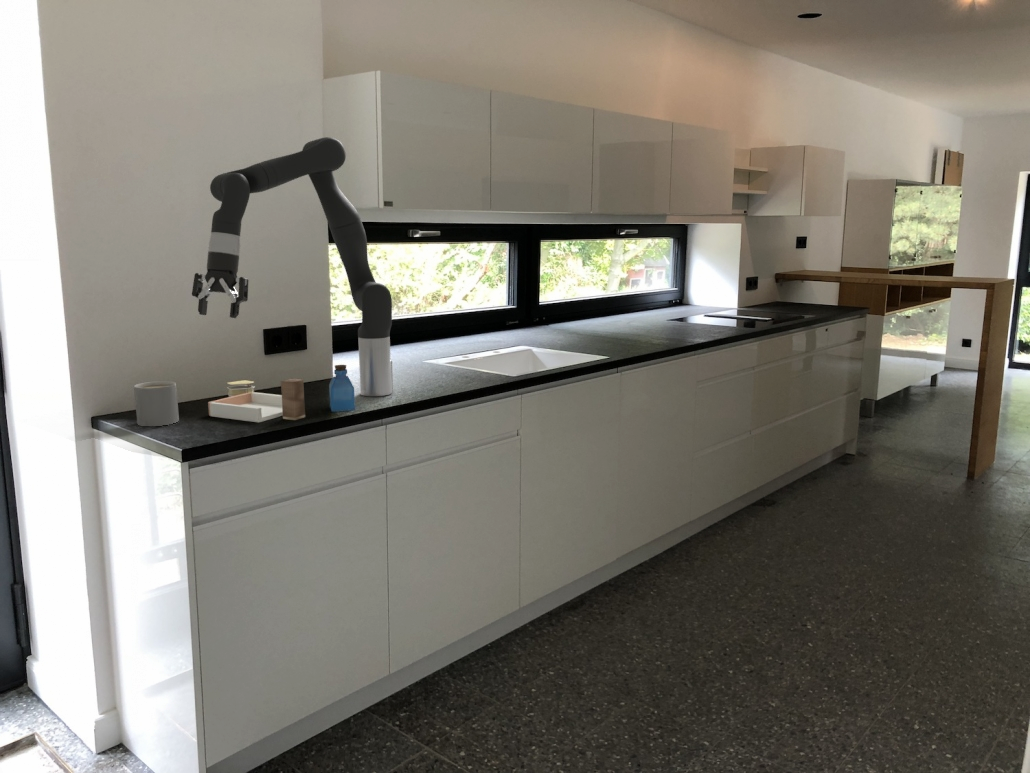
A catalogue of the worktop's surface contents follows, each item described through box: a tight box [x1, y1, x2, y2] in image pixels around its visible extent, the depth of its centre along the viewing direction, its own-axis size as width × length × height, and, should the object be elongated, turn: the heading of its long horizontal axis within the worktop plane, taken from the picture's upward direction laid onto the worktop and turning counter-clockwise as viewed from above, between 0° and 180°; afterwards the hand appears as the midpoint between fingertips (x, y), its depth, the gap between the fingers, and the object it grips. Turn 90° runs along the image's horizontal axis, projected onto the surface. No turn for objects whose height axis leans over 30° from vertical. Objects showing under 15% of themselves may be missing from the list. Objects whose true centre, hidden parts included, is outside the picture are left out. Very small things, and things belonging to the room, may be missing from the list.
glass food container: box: [226, 379, 256, 397], centre depth 246 cm, size 10×9×6 cm
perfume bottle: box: [328, 364, 356, 413], centre depth 233 cm, size 6×6×12 cm
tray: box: [207, 391, 283, 423], centre depth 229 cm, size 16×18×4 cm
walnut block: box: [280, 378, 306, 421], centre depth 222 cm, size 4×4×10 cm
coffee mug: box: [133, 380, 180, 427], centre depth 219 cm, size 13×10×10 cm
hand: (217, 316), depth 215 cm, fingers open, 8 cm apart
